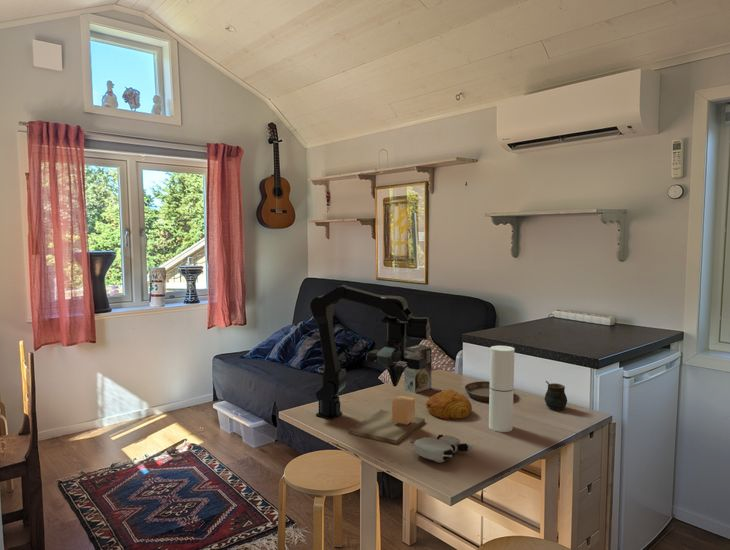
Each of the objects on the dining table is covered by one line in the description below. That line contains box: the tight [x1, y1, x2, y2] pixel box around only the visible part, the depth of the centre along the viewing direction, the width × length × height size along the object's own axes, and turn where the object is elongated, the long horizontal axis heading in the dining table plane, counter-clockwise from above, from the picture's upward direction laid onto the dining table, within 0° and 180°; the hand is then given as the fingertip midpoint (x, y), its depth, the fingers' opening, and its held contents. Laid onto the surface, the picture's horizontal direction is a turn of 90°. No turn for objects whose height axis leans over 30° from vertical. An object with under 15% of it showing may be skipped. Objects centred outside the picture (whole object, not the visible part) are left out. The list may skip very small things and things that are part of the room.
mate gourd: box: [544, 380, 568, 411], centre depth 182 cm, size 7×8×10 cm
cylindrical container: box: [488, 345, 516, 433], centre depth 164 cm, size 7×7×25 cm
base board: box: [348, 409, 426, 445], centre depth 165 cm, size 16×20×1 cm
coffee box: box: [403, 344, 432, 394], centre depth 204 cm, size 9×6×16 cm
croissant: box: [425, 389, 473, 420], centre depth 179 cm, size 14×16×8 cm
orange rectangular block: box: [391, 395, 416, 424], centre depth 165 cm, size 5×5×7 cm
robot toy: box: [407, 434, 473, 464], centre depth 145 cm, size 12×4×15 cm
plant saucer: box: [463, 380, 514, 402], centre depth 196 cm, size 18×18×3 cm
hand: (395, 386), depth 168 cm, fingers closed
